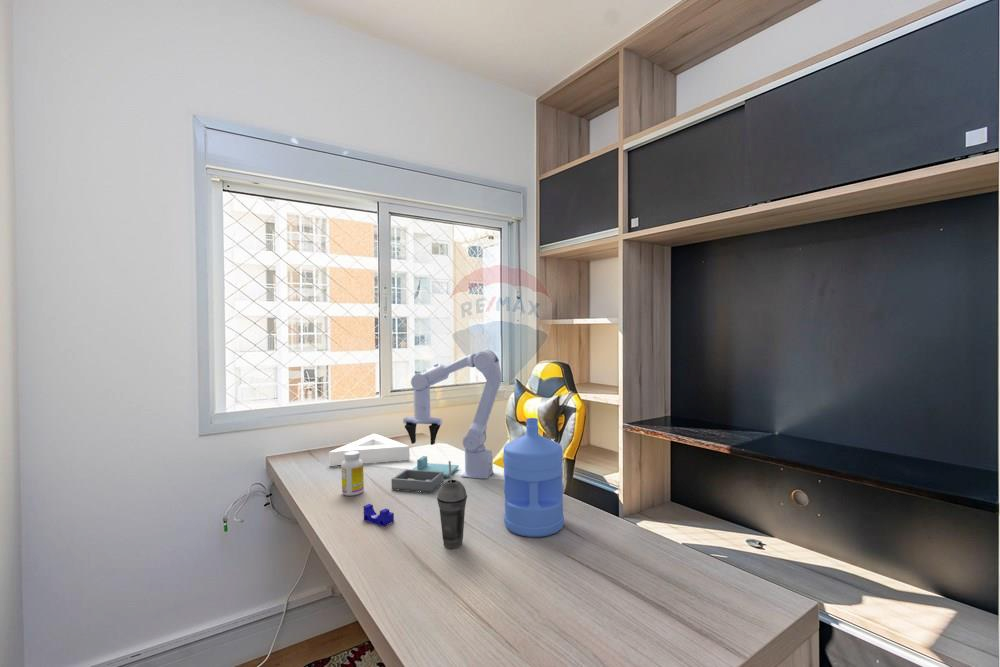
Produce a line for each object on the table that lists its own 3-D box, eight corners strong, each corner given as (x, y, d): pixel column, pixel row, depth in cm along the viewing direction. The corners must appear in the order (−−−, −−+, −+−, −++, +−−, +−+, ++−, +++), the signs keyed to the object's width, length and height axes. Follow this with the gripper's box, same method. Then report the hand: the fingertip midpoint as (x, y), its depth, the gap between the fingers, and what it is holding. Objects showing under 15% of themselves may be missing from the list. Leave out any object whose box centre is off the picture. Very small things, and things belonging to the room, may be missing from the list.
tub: (443, 482, 154) (443, 472, 154) (431, 493, 145) (431, 482, 145) (405, 479, 158) (405, 469, 158) (391, 489, 148) (391, 479, 148)
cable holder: (393, 522, 124) (393, 507, 124) (384, 527, 121) (383, 512, 121) (373, 516, 129) (373, 501, 129) (363, 520, 126) (363, 506, 126)
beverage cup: (444, 554, 106) (442, 469, 105) (433, 541, 112) (431, 460, 112) (473, 547, 109) (471, 464, 109) (461, 534, 116) (459, 456, 115)
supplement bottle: (367, 489, 149) (366, 450, 149) (358, 496, 143) (357, 455, 143) (347, 488, 150) (346, 449, 150) (338, 496, 143) (337, 455, 143)
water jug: (505, 512, 129) (503, 413, 128) (561, 512, 128) (559, 413, 127) (502, 538, 113) (500, 426, 113) (566, 538, 112) (564, 425, 112)
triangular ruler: (329, 468, 174) (329, 451, 174) (339, 450, 199) (338, 435, 199) (409, 462, 180) (409, 446, 180) (409, 445, 205) (408, 431, 205)
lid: (458, 470, 168) (458, 455, 168) (447, 479, 158) (447, 464, 158) (421, 467, 172) (421, 453, 172) (408, 476, 162) (408, 462, 162)
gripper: (398, 407, 164) (399, 445, 164) (436, 408, 160) (437, 447, 160) (407, 404, 170) (408, 440, 171) (444, 405, 166) (444, 442, 167)
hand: (423, 443), depth 166 cm, fingers open, 7 cm apart
